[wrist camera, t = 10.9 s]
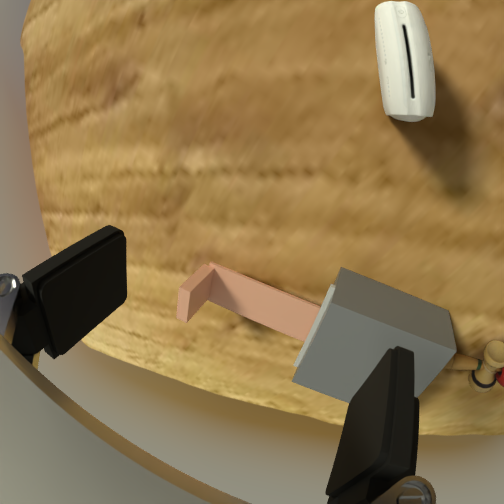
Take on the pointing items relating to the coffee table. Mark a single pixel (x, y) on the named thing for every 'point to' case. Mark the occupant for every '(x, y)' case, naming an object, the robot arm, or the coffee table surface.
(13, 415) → the robot arm
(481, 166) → the coffee table surface
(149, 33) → the coffee table surface
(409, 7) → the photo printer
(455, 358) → the kendama
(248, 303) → the pink l-shaped bracket
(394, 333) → the block
